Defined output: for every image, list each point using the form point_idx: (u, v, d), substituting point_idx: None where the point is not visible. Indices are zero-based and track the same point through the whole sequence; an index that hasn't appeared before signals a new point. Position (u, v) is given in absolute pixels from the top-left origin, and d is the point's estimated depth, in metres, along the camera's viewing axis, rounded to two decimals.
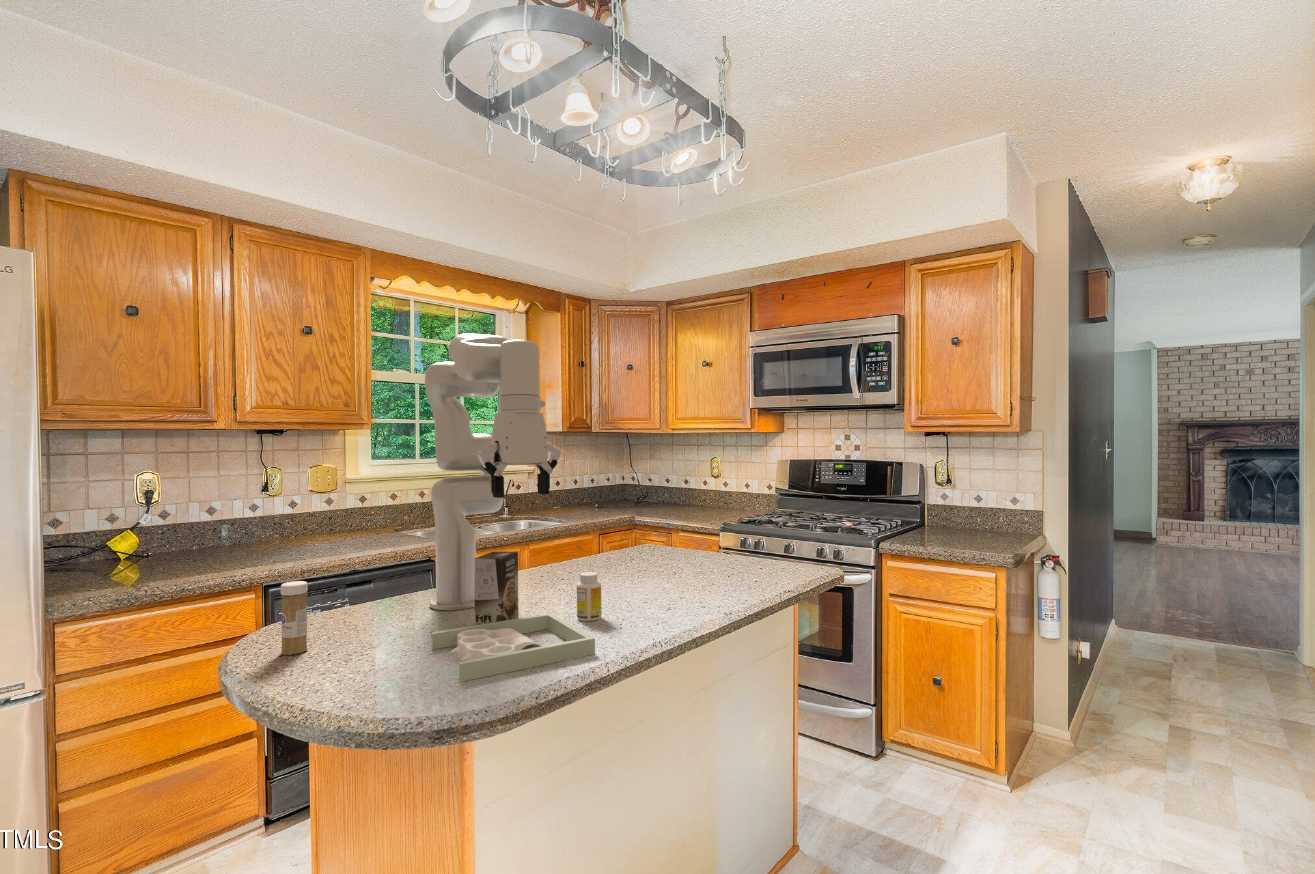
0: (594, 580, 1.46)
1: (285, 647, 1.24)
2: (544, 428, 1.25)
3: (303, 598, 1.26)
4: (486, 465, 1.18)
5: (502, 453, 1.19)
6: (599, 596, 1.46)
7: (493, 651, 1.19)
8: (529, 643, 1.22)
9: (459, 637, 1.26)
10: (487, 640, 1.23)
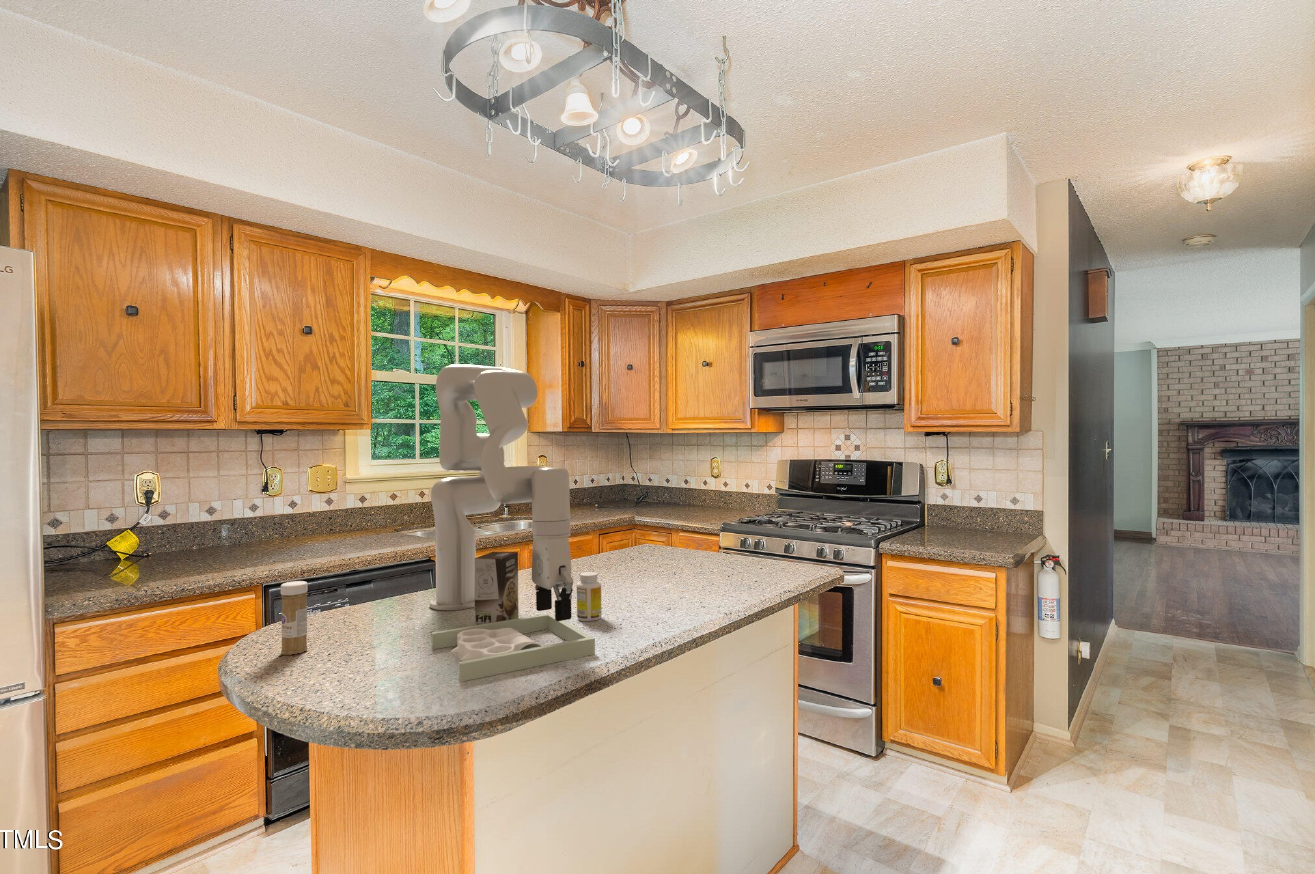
0: (594, 580, 1.46)
1: (285, 647, 1.24)
2: None
3: (303, 598, 1.26)
4: (571, 590, 1.23)
5: None
6: (599, 596, 1.46)
7: (493, 651, 1.19)
8: (529, 643, 1.22)
9: (459, 637, 1.26)
10: (487, 640, 1.23)
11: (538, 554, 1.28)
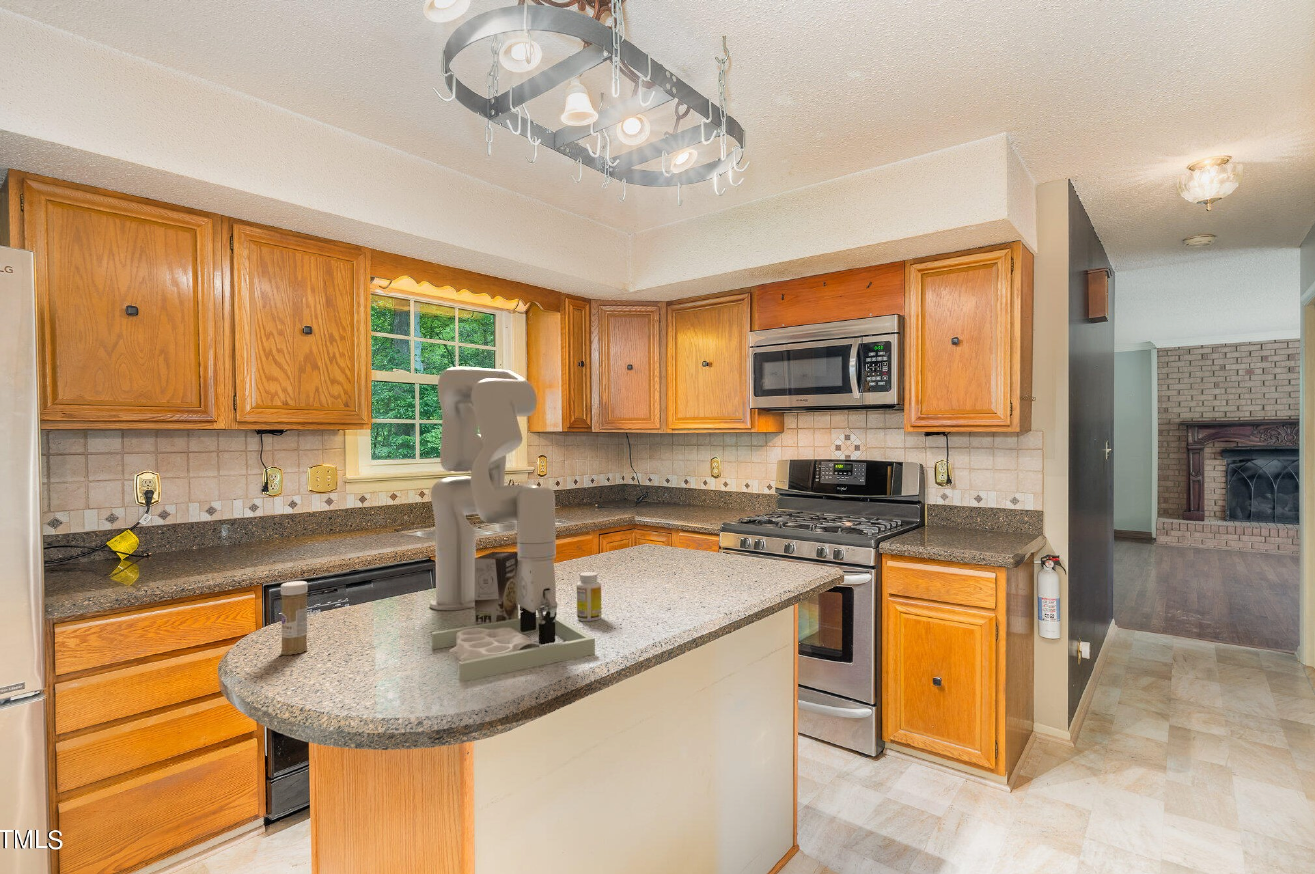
0: (594, 580, 1.46)
1: (285, 647, 1.24)
2: None
3: (303, 598, 1.26)
4: (555, 614, 1.22)
5: (555, 598, 1.25)
6: (599, 596, 1.46)
7: (491, 650, 1.19)
8: (527, 643, 1.21)
9: (458, 636, 1.26)
10: (485, 639, 1.23)
11: (522, 576, 1.27)
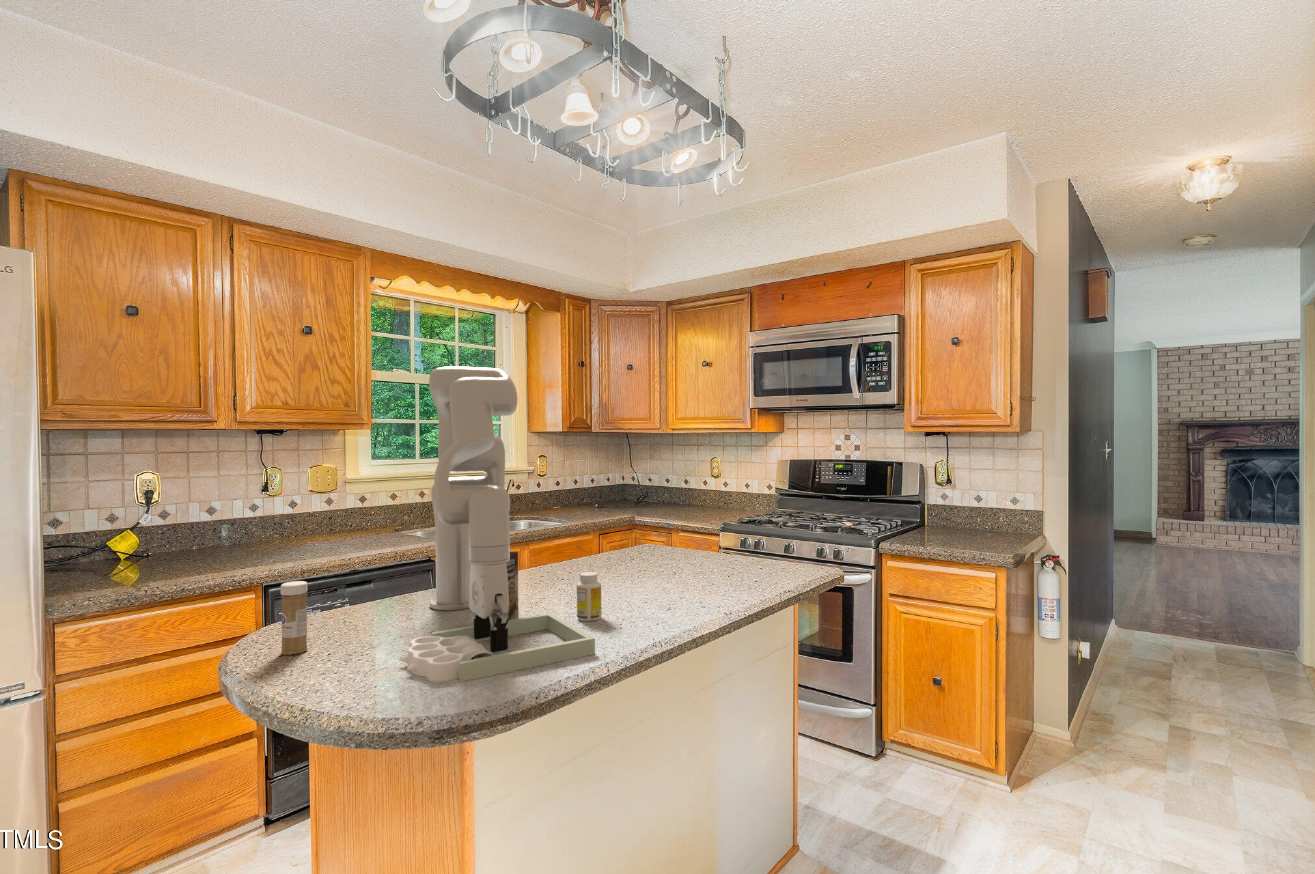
0: (594, 580, 1.46)
1: (285, 647, 1.24)
2: None
3: (303, 598, 1.26)
4: (507, 620, 1.17)
5: (508, 604, 1.20)
6: (599, 596, 1.46)
7: (440, 660, 1.14)
8: (479, 652, 1.17)
9: (411, 644, 1.22)
10: (437, 648, 1.18)
11: (474, 581, 1.21)
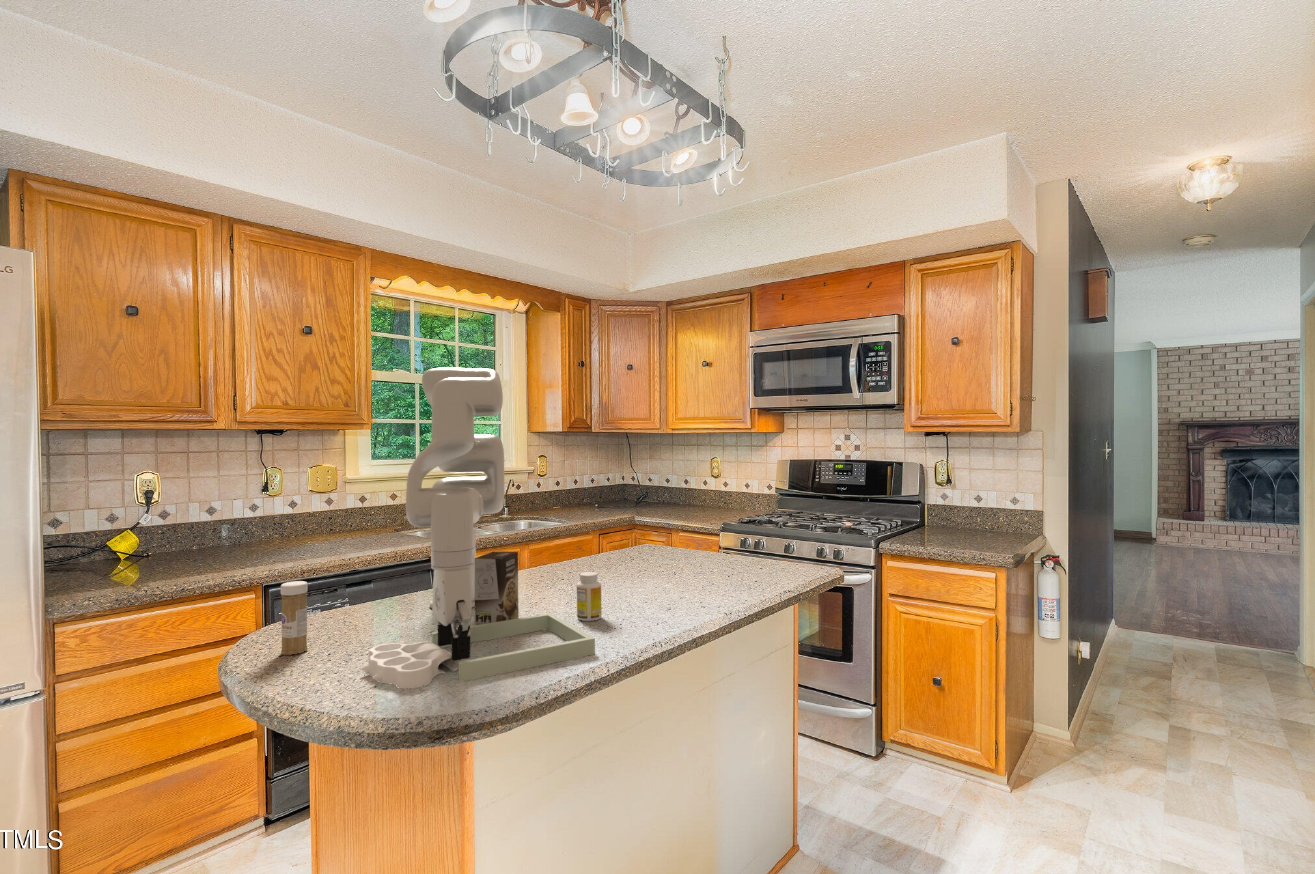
0: (594, 580, 1.46)
1: (285, 647, 1.24)
2: None
3: (303, 598, 1.26)
4: (469, 628, 1.13)
5: (470, 611, 1.16)
6: (599, 596, 1.46)
7: (408, 667, 1.11)
8: (448, 657, 1.14)
9: (370, 653, 1.17)
10: (401, 655, 1.15)
11: (437, 586, 1.18)
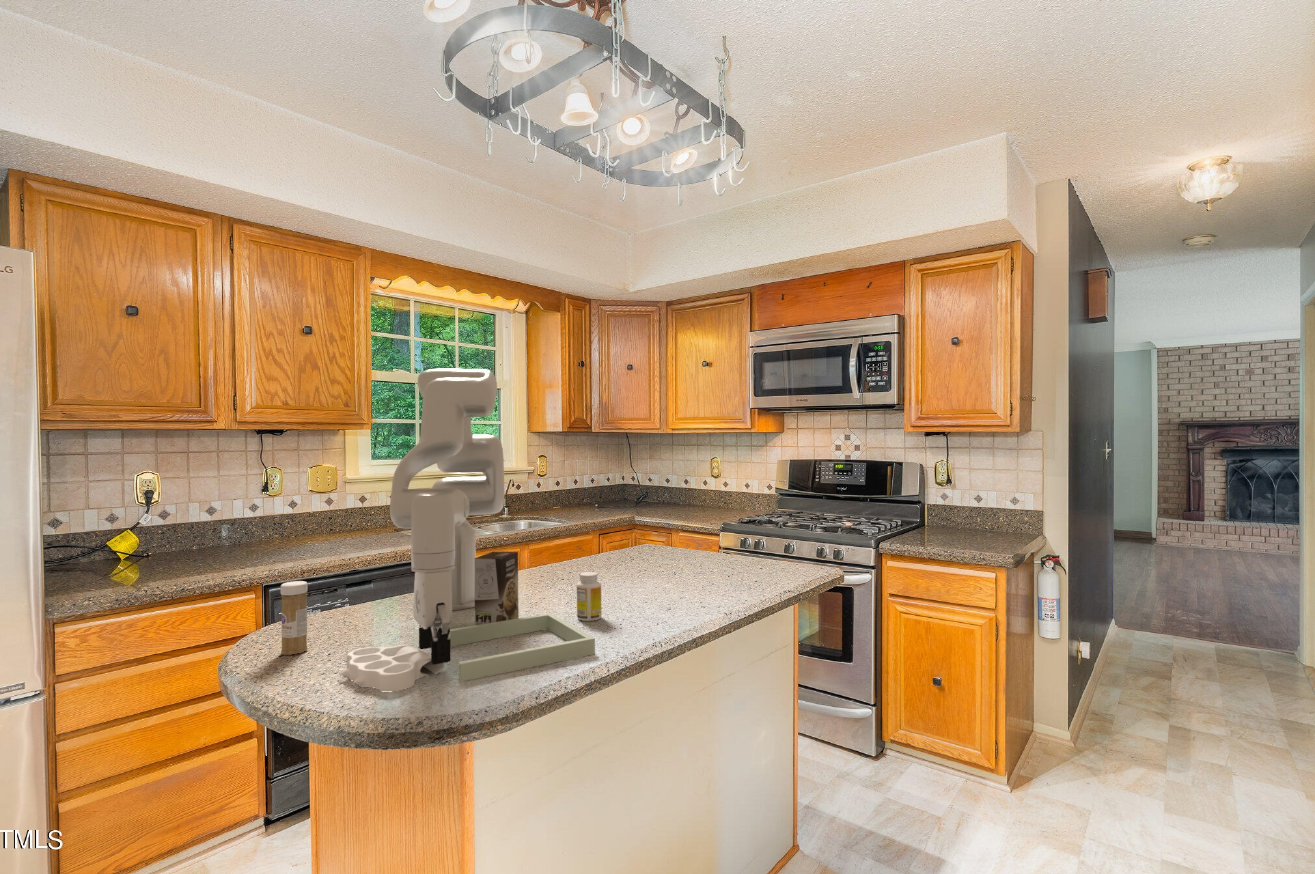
0: (594, 580, 1.46)
1: (285, 647, 1.24)
2: None
3: (303, 598, 1.26)
4: (448, 631, 1.12)
5: (451, 614, 1.14)
6: (599, 596, 1.46)
7: (390, 671, 1.09)
8: (430, 659, 1.13)
9: (349, 657, 1.15)
10: (382, 659, 1.13)
11: (417, 589, 1.16)
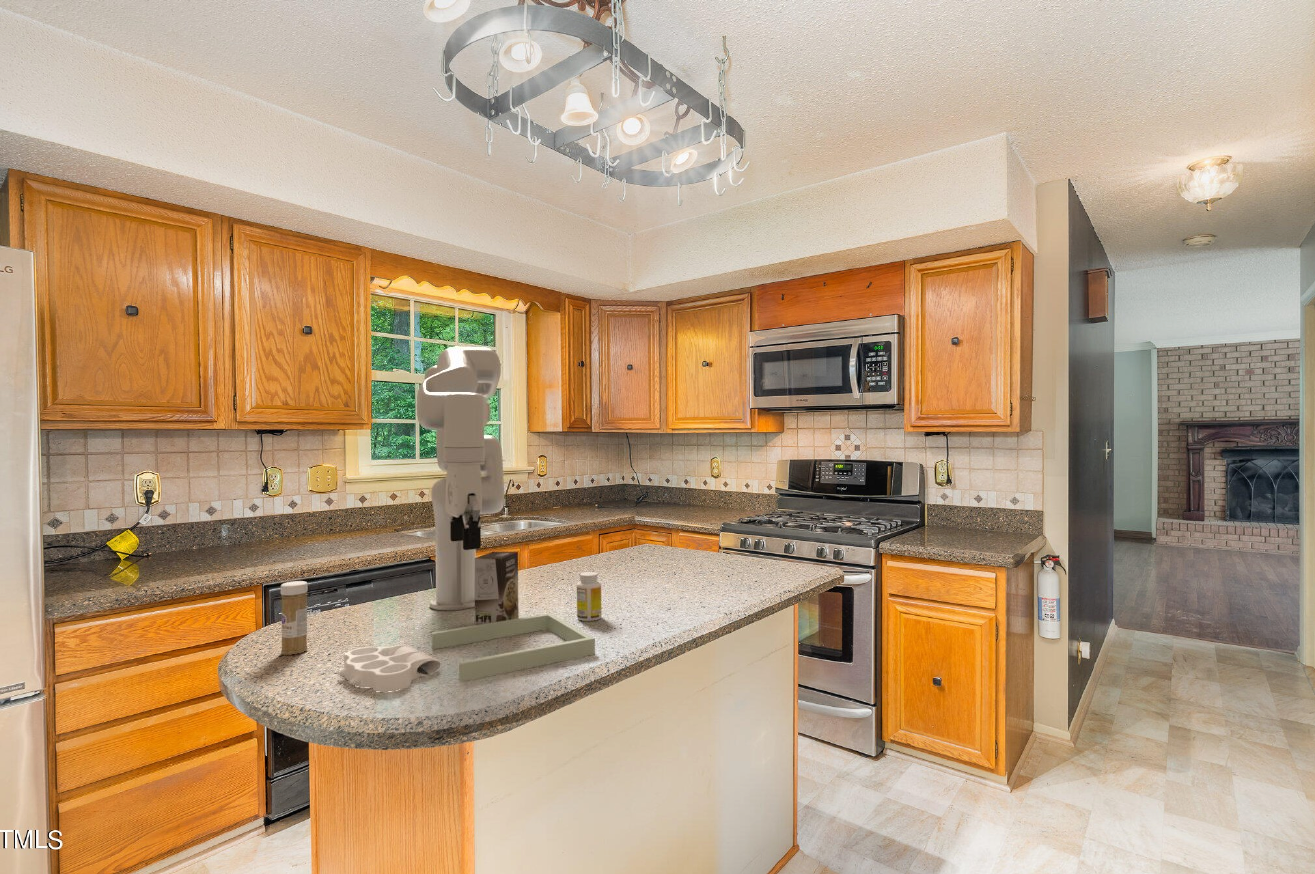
0: (594, 580, 1.46)
1: (285, 647, 1.24)
2: None
3: (303, 598, 1.26)
4: (479, 518, 1.19)
5: (481, 504, 1.22)
6: (599, 596, 1.46)
7: (386, 671, 1.09)
8: (427, 660, 1.13)
9: (346, 657, 1.15)
10: (379, 659, 1.13)
11: (449, 482, 1.24)
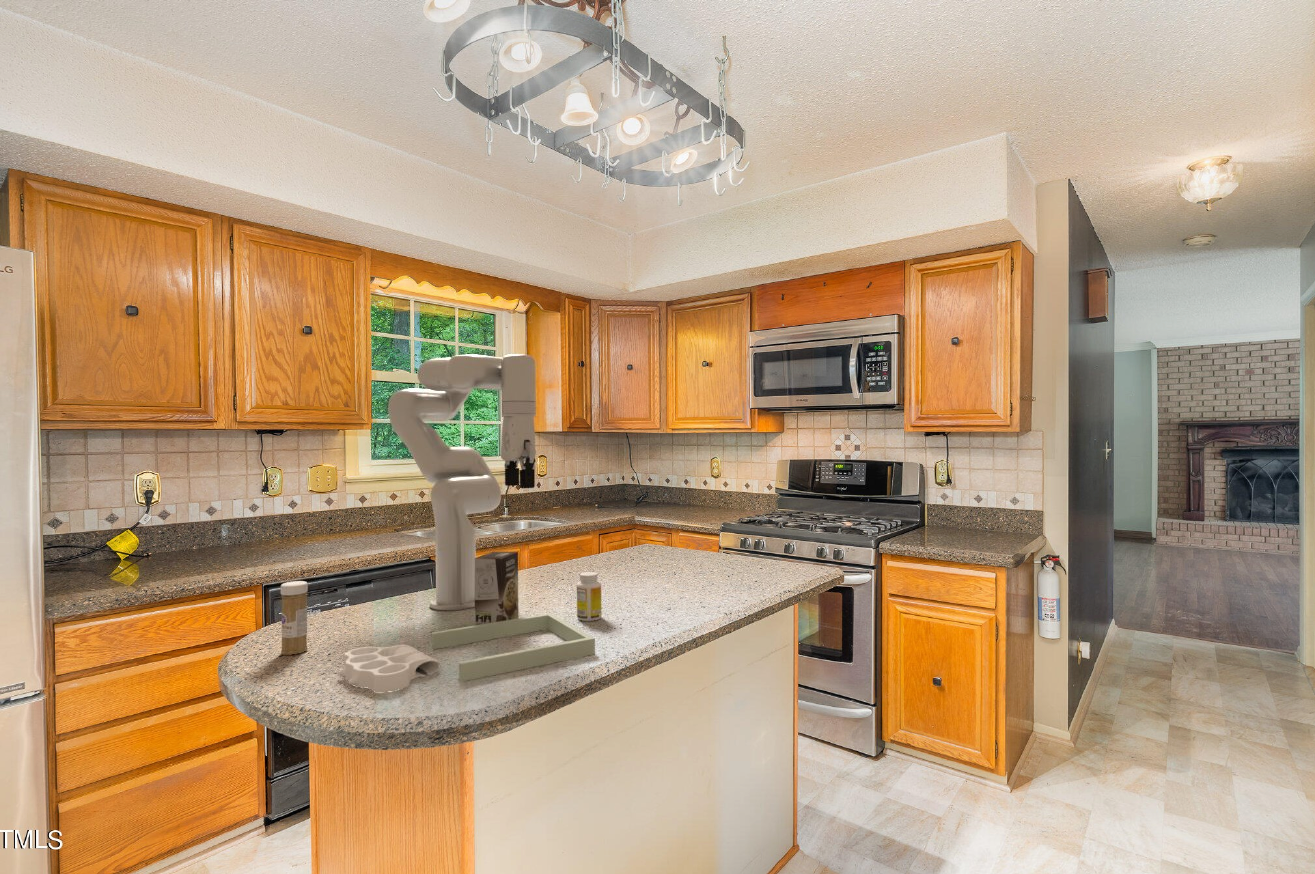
0: (594, 580, 1.46)
1: (285, 647, 1.24)
2: None
3: (303, 598, 1.26)
4: (534, 460, 1.39)
5: None
6: (599, 596, 1.46)
7: (384, 671, 1.09)
8: (425, 660, 1.13)
9: (346, 657, 1.15)
10: (378, 659, 1.13)
11: (506, 431, 1.44)
